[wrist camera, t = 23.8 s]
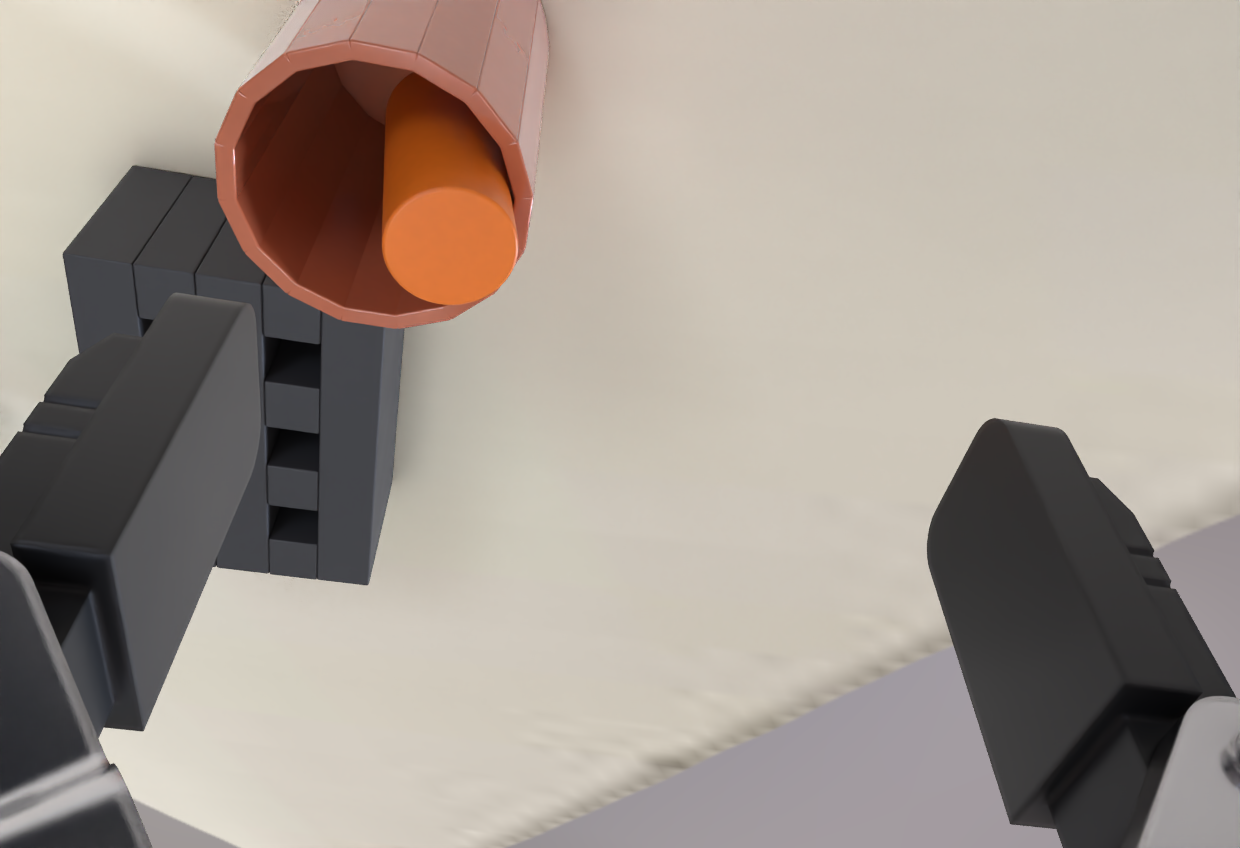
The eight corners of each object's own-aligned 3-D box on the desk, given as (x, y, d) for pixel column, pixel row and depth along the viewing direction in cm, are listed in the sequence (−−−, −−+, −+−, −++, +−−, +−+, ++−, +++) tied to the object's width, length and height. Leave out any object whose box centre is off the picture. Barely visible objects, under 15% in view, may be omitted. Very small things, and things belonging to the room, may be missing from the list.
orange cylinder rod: (489, 5, 31) (527, 195, 22) (479, 99, 33) (509, 310, 24) (390, -9, 31) (385, 180, 21) (385, 87, 32) (378, 301, 23)
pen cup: (565, -59, 31) (553, 78, 22) (531, 163, 35) (509, 347, 27) (318, -111, 30) (206, 11, 21) (315, 124, 34) (222, 303, 26)
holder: (413, 211, 36) (386, 304, 32) (392, 482, 45) (368, 586, 40) (132, 164, 35) (61, 253, 30) (164, 452, 43) (112, 556, 39)
